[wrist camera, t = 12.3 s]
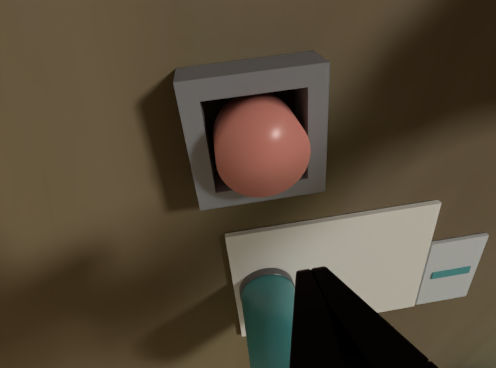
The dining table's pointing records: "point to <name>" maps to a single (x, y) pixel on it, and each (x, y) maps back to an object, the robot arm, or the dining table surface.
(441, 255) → the card
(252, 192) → the button
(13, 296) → the dining table surface
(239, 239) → the paper
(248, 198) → the button housing
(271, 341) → the canister
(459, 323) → the dining table surface
